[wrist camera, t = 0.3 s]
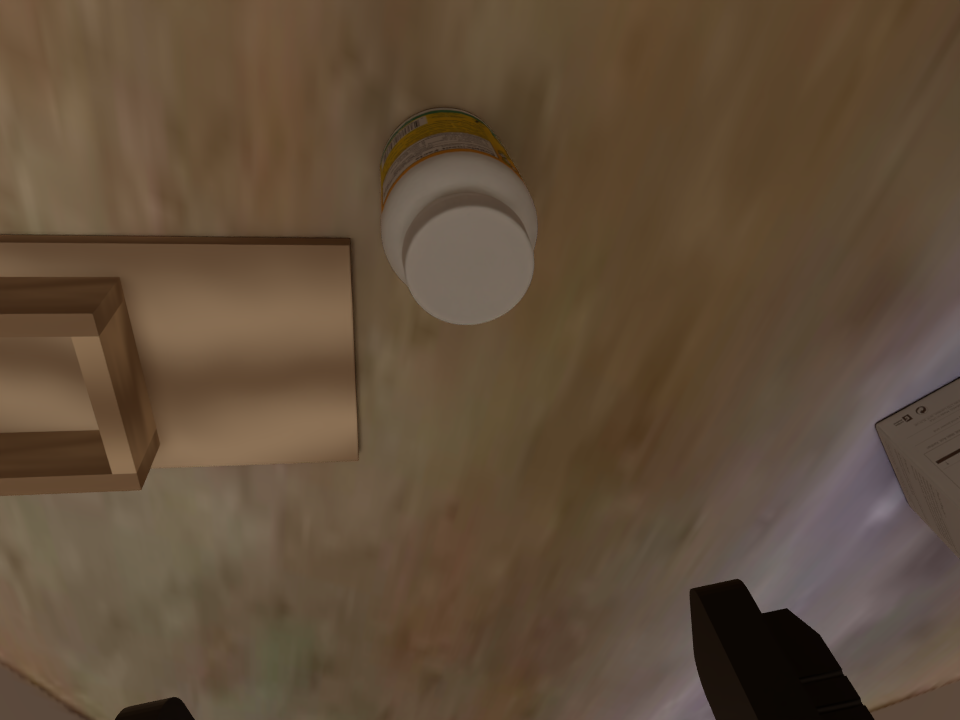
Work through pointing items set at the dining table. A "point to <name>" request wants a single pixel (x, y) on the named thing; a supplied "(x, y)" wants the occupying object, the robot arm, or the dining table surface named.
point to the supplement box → (929, 459)
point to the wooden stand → (171, 357)
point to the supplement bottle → (456, 217)
